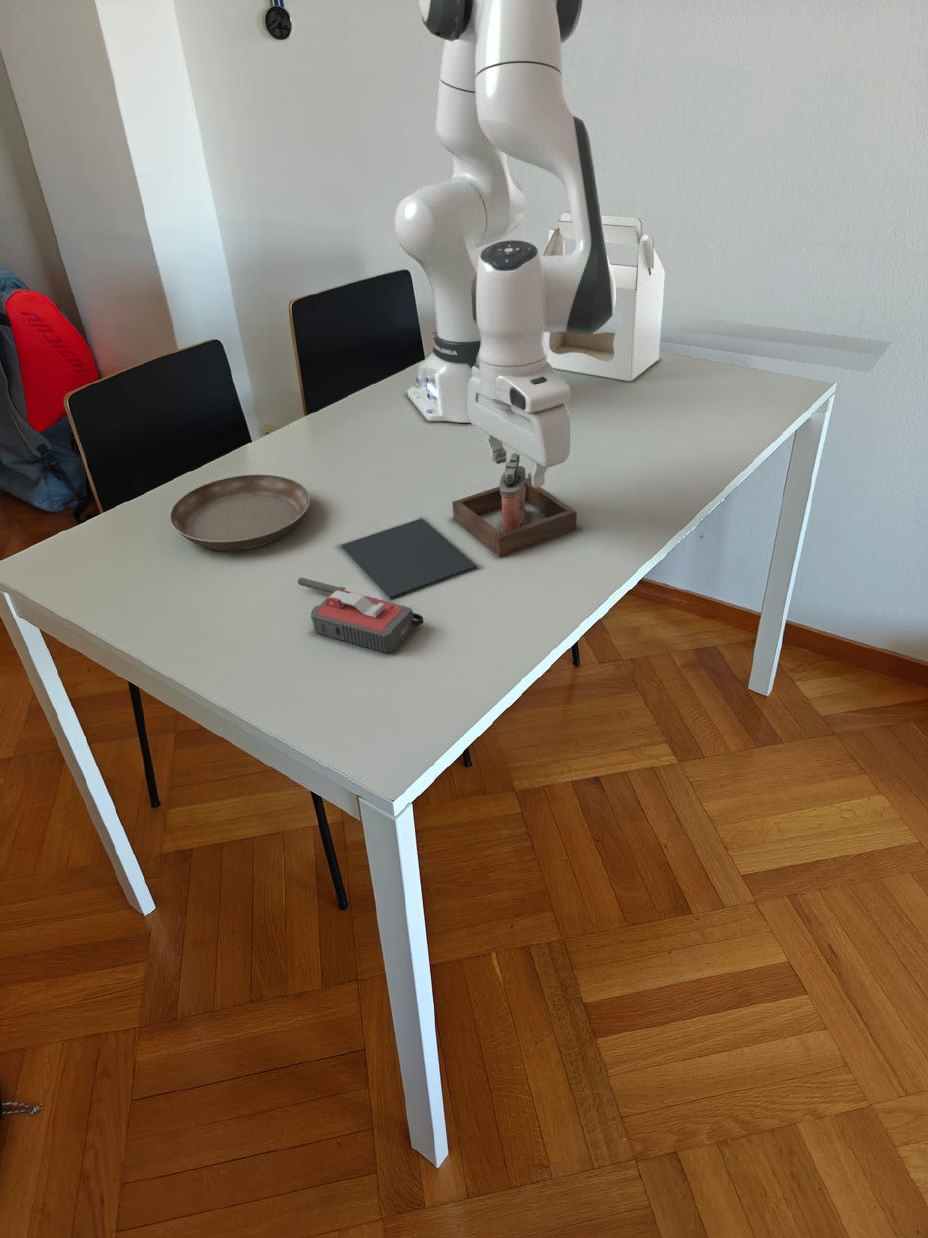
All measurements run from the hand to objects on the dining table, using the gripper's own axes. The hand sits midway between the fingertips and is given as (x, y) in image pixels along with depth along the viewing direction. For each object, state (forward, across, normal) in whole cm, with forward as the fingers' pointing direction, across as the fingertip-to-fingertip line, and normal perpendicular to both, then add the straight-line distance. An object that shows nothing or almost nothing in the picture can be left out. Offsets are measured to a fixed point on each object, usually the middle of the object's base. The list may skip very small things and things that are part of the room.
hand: (517, 472), depth 124 cm
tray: (+8, -1, 0) cm, 8 cm away
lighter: (+9, -1, 0) cm, 9 cm away
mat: (+8, -2, -17) cm, 19 cm away
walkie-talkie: (+9, +7, -31) cm, 33 cm away
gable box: (+8, -46, +49) cm, 68 cm away
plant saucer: (+8, -25, -33) cm, 42 cm away
